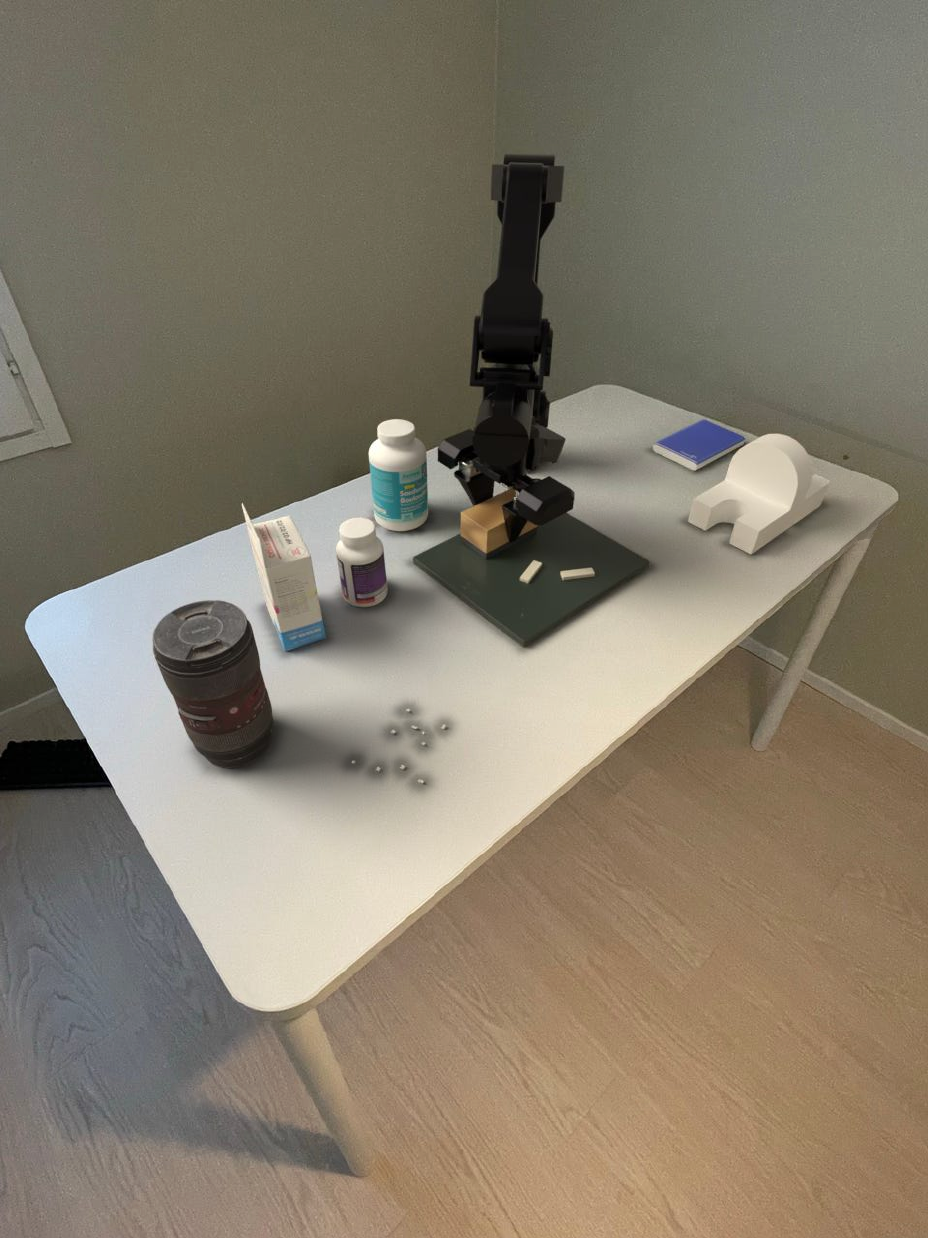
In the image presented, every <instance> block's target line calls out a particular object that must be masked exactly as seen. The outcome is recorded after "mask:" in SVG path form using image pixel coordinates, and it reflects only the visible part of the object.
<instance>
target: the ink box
mask: <svg viewBox="0 0 928 1238" xmlns="http://www.w3.org/2000/svg"><path fill="white" fill-rule="evenodd" d="M241 508H242V511H243V515H244V519H245V523H246V528H247V532H248V537H249V540H250V545H251V548H252V553H253V557H254V560H255V565H256V570H257V573H258V577H259V580H260V585H261V588H262V593H263V597H264V602H265V605H266V609H267V611H268V614H269V616H270V618H271V621H272V624H273V626H274V629H275V631H276V633H277V636H278V638H279V640H280V644H281V645H282V647H283V651H284V652H289V651H292V650H294V649H297V648H300V647H303V646H306V645H310V644H312V643H316V642H318V641H321V640H325V639H326V638H327V637H326V631H325V627H324V621H323V616H322V615H323V614H322V610H321V605H320V600H319V599H320V598H319V594H318V589H317V582H316V578H315V577H316V576H315V572H314V566H313V560H312V555H311V553H310V551H309V548H308V547H307V544H306V543H305V541H304V539H303V538H302V535H301V534H300V532H299V530H298V527H297V525H296V524H295V522H294V520H293V518H292V516H291V515H286V516H282V517H279V518H274V519H271V520H270V519H269V520H265V521H262V522H258V523H254V524H253V521H252V519H251V517H250V516H249V513H248V511H247V509H246V506H245V504H244V503H243V502H242V503H241Z"/></svg>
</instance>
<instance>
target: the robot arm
mask: <svg viewBox="0 0 928 1238" xmlns="http://www.w3.org/2000/svg"><path fill="white" fill-rule="evenodd" d="M503 157H504V158H503V162H502V164H498V163H493V164H491V178H490V179H491V182H490V184H491V185H490V200H491V201H496V202H497V203H496V204H497V205H496V206H497V207H496V214H497V217H498V218H497V219H498V220H499V223H500V224H501V232H500V239H499V240H500V241H499V250H498V260H497V271H496V277H495V279H494V280H493V282H492V283H491V284H490V285H489V286H488V287H487V288H486V289H485V290H484V292H483V295H482V301H481V302H482V303H481V310H480V315H479V314H476V315H475V316H474V320H473V329H472V333H473V334H472V343H471V344H472V345H471V358H470V374H469V387H475V388H482V399H481V402H480V405H479V407H478V410H477V416H476V421H475V424H474V427H473V429H471V428H468V429H465V430H463V431H461V432H458V433H456V434H453V435H451V436H449V437H446V438H443V439H442V440H441V442H440V444H439V445H438V447H437V462H438V463H440V464H441V465H443V466H445V467H446V468H448V469H449V470H453V469H455V468H456V467H458V469H456V470H455V471H453V476H454V478H456V480H458V482H459V484H460V486H461V487H462V488H463V490H464V492H465V494H466V495H467V498H468V499H469V501H470V502H471V504H472V507H473V506H475V505H477V504H479V503H482V502H484V501H486V500H488V499H490V498H492V497H494V492H495V483H497V484H499V485H500V486H502V487H504V488H505V489H506V490H509V489H514V490H516V492H515V497H514V500H512V501H510V502H508V503H506V504H504V505H502V511H503V516H504V521H505V526H506V532H507V536H508V539H509V541H510V542H514V541H515V540H517V539H518V537H519V535H520V533H521V531H522V530H523V528H524V526H525V524H526V522H527V521H530V522H531V523H533V524H534V525H544V524H546V523H548V522H549V521H551V520H553V519H555V518H557V517H559V516H561V515H563V514H565V513H568V512H571V511H572V510H574V503H575V491H574V490H573V489H572V488H571V487H569V486H567V485H566V484H564V483H562V482H560V481H559V480H557V479H556V478H554V477H552V476H550V475H548V476H546V477H544V478H542V479H541V478H537V477H536V478H533V477H531V476H529V475H527V473H528V471H531V472H535V471H536V470H538V469H540V465H541V464H542V463H551V464H552V465H553V464H554V465H556V464H558V462H559V459H560V457H561V454H562V451H563V448H564V446H565V442H566V437H564V436H562V435H561V434H559V433H557V432H555V431H553V430H552V429H550V428H548V427H549V418H550V408H551V407H550V406H551V402H550V400H549V399H548V396H547V395H546V394H547V391H546V390H543V388H544V378H545V377H549V378H550V376H551V363H552V354H553V353H552V351H553V340H554V329H553V328H552V327H551V321H549V317H544V318H543V307H544V294H543V291H542V289H541V288H540V287H539V286H538V285H539V271H540V259H541V258H540V257H541V243H542V238H543V237H544V235H545V233H546V232H547V230H548V228H549V227H550V225H551V223H552V222H553V220H554V218H555V214H556V205H557V204H556V203H562V202H563V190H564V189H563V188H564V177H565V165H555V163H556V154H543V153H507V152H506V153H504V156H503ZM480 358H481V359H482V360H483V362H484V364H493V365H492V366H491V367H485V366H484V367H483V366H482V367H480V368H479V361H480ZM538 362H539V367H538V364H537V363H538ZM478 370H479V371H478Z"/></svg>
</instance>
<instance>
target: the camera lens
mask: <svg viewBox="0 0 928 1238" xmlns="http://www.w3.org/2000/svg"><path fill="white" fill-rule="evenodd" d="M152 653H153V656H154V659H155V661H156V663H157V666H158V669H159V672H160V674H161V676H162V679H163V681H164V683H165V685H166V687H167V689H168V691H169V692H170V694H171V695H172V697H173V700H174V703H175V705H176V707H177V710H178V711H177V712H178V715H179V719H180V721H181V722H182V725H183V728H184V730H185V733H186V735H187V737H188V738H189V740H190V741H191V742H192V744H193V746H194V748H195V750H196V751H197V752H198V753H199V754H200V755H202V756H203V757H204V758H205V759H206V760H207V761H208V762H209V763H211V764H212V765H214V766H217V767H219V768H227V769H228V768H229V769H233V768H238V767H243V766H246V765H248V764H250V763H253V762H254V761H256V760H257V759H258V758H260V757H261V756H262V755H263V754H264V753H265V751H267V749H268V747H269V746H270V744H271V742H272V737H273V728H274V717H273V708H272V707H273V706H272V702H271V699H270V695H269V692H268V689H267V688H266V683H265V679H264V676H263V673H262V669H261V659H260V653H259V650H258V646H257V642H256V638H255V633H254V630H253V627H252V624H251V621H250V620H249V619H248V617H247V616H246V613H245V612H244V610H243V609H241V608H240V607H239V606H238V605H235V604H234V603H231V602H229V601H225V600H218V599H216V600H214V599H213V600H211V599H207V600H199V601H194V602H191V603H186V604H184V605H181V606H179V607H177V608H175V609H173V610H172V611H170V612H169V613H167V614H166V615H164V616H163V617H162V618H161V619H160V620H159V621H158V623H157V624H156V626H155V627H154V629H153V632H152Z"/></svg>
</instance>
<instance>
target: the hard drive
mask: <svg viewBox="0 0 928 1238" xmlns="http://www.w3.org/2000/svg"><path fill="white" fill-rule="evenodd" d="M745 441H746V437H745V436H744V435H741V434H739V433H737V432H735V431H732V430H731V429H727V428H726V427H723V426H721V425H718V424H716V423H714V422H711V421H709V420H707V419H701V420H699V421H697V422H695V423H693V424H691V425H688V426H687V427H685V428H682V429H680V430H678V431H676V432H674V433H671V434H670V435H668V436H666V437H664V438H662V439H661V438H660V439H659V440H657V441H656V442H654V443H653V445H652V451H653V452H654V453H656V454H659V455H660V456H663V457H664V458H666V459H669V460H671V461H673V462H675V463H676V464H678V465H681V466H682V467H685V468H687V469H689V470H691V471H698V470H699V469H701V468H703V467H705V466H707V465H708V464H710V463H712V462H714V461H716V460H717V459H719V458H721V457H723V456H725V455H727V454H728V453H730V452H732V451H734V450H736V449H738V448H741V446H742V447H743V445H744V444H745ZM744 446H745V445H744Z"/></svg>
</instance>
